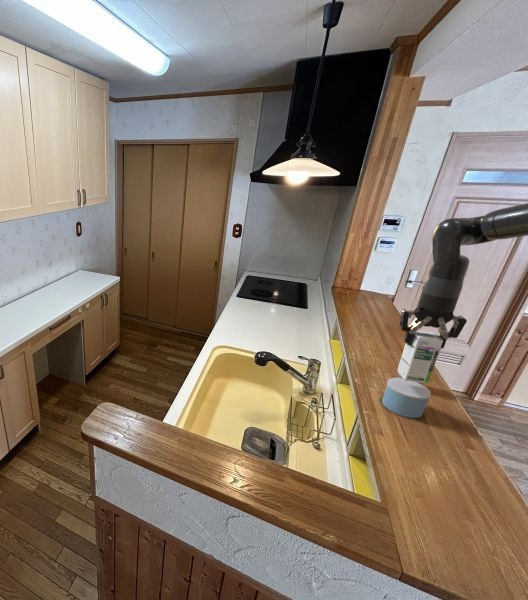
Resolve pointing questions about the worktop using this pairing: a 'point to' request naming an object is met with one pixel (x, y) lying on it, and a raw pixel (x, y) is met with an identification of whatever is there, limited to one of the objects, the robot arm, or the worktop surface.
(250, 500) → the worktop surface
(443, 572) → the worktop surface
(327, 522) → the worktop surface
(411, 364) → the syrup box
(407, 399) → the yogurt tub
